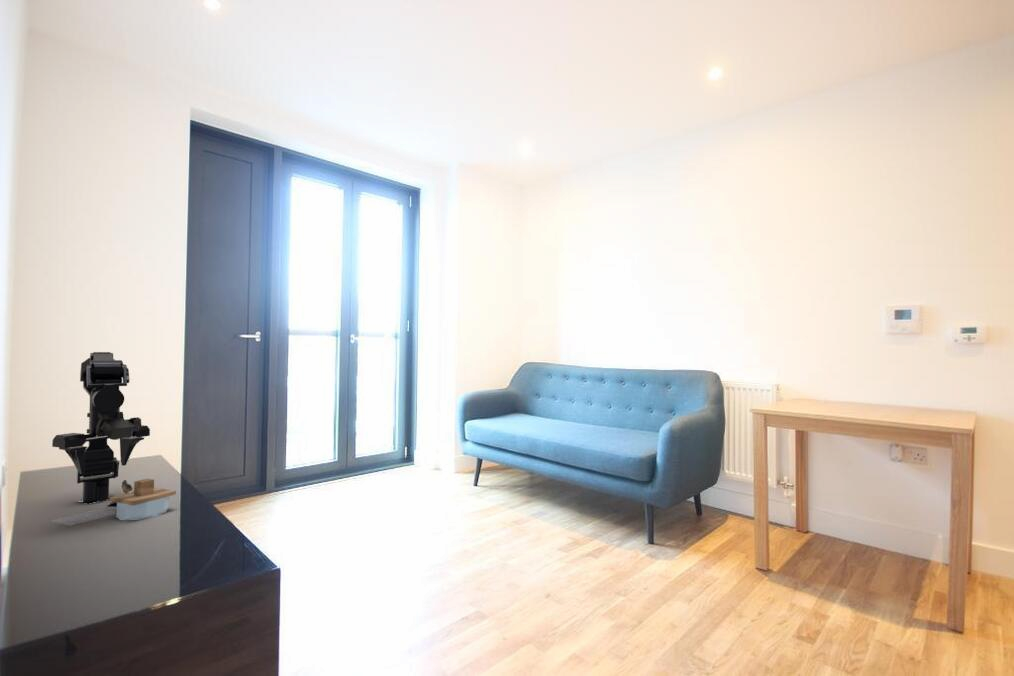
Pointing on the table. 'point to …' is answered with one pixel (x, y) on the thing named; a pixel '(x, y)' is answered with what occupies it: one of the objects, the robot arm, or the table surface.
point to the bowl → (142, 509)
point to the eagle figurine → (124, 489)
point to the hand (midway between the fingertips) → (103, 469)
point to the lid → (143, 493)
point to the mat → (83, 517)
